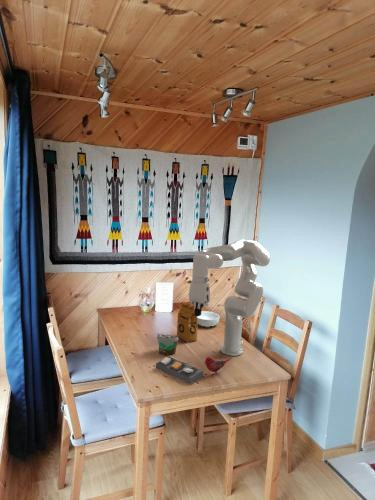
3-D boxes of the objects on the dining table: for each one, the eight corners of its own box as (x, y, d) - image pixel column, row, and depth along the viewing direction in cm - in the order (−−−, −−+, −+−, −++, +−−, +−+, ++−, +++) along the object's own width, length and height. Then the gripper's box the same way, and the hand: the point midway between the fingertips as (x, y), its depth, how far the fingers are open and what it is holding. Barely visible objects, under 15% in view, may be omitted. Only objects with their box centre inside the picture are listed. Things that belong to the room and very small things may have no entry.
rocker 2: (187, 369, 178) (188, 367, 178) (193, 372, 176) (193, 370, 176) (182, 370, 175) (183, 368, 175) (188, 372, 173) (188, 370, 173)
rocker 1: (166, 358, 186) (166, 357, 186) (171, 360, 184) (170, 359, 184) (160, 362, 184) (160, 361, 183) (165, 365, 182) (165, 363, 181)
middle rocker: (176, 363, 182) (176, 361, 182) (182, 365, 180) (181, 363, 180) (171, 367, 179) (171, 365, 179) (176, 369, 177) (176, 368, 177)
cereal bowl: (188, 325, 247) (189, 315, 246) (202, 319, 261) (202, 309, 260) (210, 331, 238) (211, 321, 237) (223, 325, 252) (224, 315, 251)
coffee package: (185, 344, 217) (187, 307, 213) (174, 336, 227) (176, 301, 223) (199, 341, 222) (201, 305, 219) (188, 334, 232) (189, 299, 229)
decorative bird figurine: (201, 376, 179) (202, 356, 177) (229, 368, 189) (230, 349, 188) (205, 379, 177) (206, 359, 175) (232, 370, 187) (234, 351, 185)
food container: (152, 353, 201) (153, 336, 200) (157, 349, 207) (158, 332, 205) (173, 358, 197) (174, 340, 195) (177, 354, 203) (178, 336, 201)
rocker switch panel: (168, 362, 192) (169, 355, 192) (203, 376, 179) (203, 369, 178) (155, 368, 185) (155, 361, 184) (190, 384, 171) (190, 376, 171)
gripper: (216, 281, 180) (214, 317, 183) (192, 275, 189) (190, 310, 192) (207, 283, 174) (205, 321, 177) (183, 277, 183) (181, 313, 186)
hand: (197, 315), depth 184 cm, fingers closed
